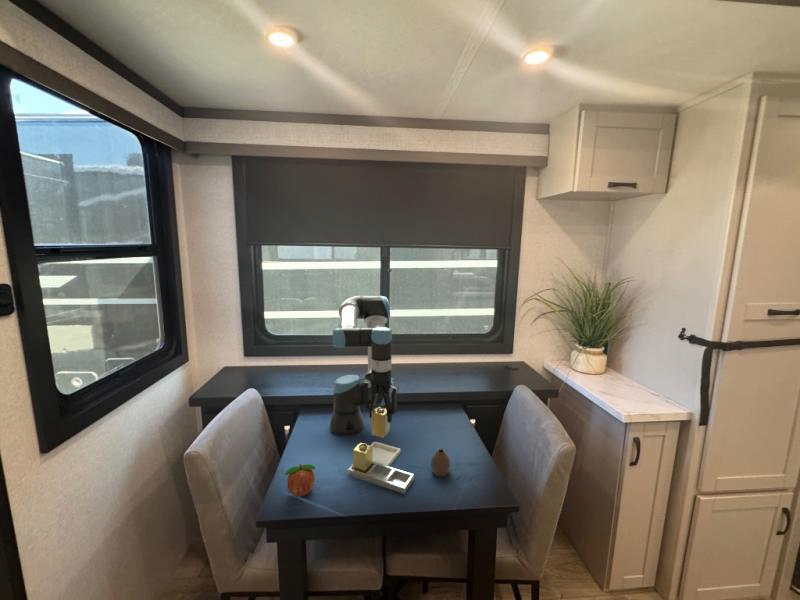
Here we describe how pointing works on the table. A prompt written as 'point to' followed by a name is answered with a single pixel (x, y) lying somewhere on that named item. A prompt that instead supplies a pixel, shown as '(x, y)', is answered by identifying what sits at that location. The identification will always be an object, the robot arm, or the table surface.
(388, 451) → the tray
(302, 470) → the fruit
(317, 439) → the table surface
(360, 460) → the brass block with knob
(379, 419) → the knobbed block
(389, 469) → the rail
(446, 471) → the vase
